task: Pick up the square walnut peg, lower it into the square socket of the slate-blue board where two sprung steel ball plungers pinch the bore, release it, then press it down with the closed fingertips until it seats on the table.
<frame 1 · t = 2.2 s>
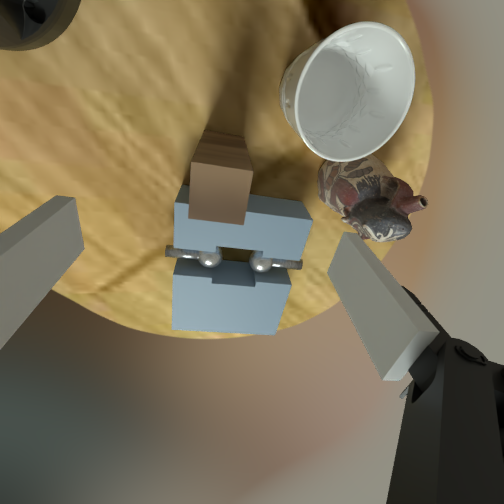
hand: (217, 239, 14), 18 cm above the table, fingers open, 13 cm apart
socket board: (233, 257, 35), on the table
plunger 1: (275, 261, 33), point 3 cm above the table, slide at 0.0 cm
white cup: (312, 92, 26), on the table
peg: (222, 153, 28), on the table
plunger 2: (195, 253, 31), point 3 cm above the table, slide at 0.0 cm
figurine: (345, 179, 31), on the table
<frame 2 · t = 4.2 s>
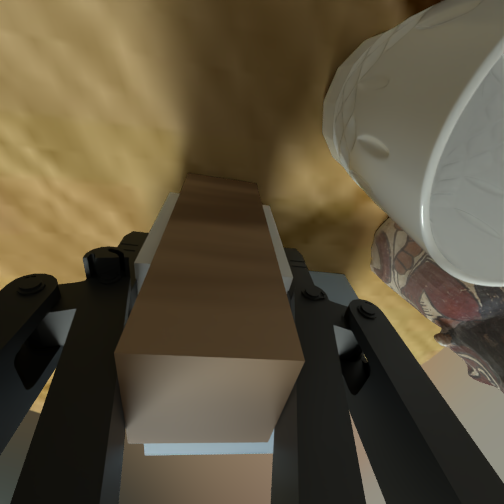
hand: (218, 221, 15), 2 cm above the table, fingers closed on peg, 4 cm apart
socket board: (236, 345, 24), on the table
white cup: (380, 108, 14), on the table
peg: (219, 209, 17), on the table, touching gripper
figurine: (414, 241, 19), on the table
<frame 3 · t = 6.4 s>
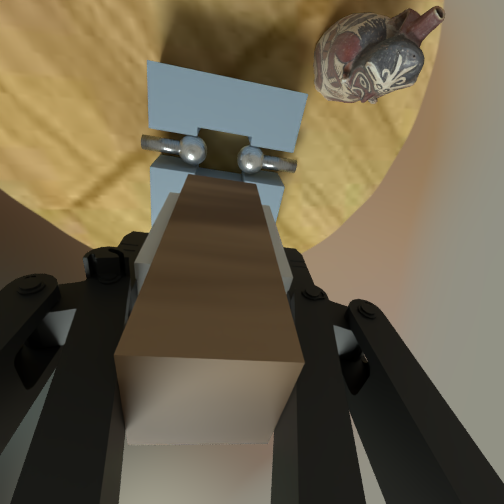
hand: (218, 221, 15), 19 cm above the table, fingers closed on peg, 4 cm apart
socket board: (220, 165, 32), on the table
plunger 1: (266, 162, 29), point 3 cm above the table, slide at 0.0 cm
peg: (219, 210, 17), point 17 cm above the table, touching gripper
plunger 2: (175, 147, 28), point 3 cm above the table, slide at 0.0 cm
figurine: (344, 62, 27), on the table
when the fingers open (6 cm above the table, at t = 8.9 s): peg drops 4 cm, on the table.
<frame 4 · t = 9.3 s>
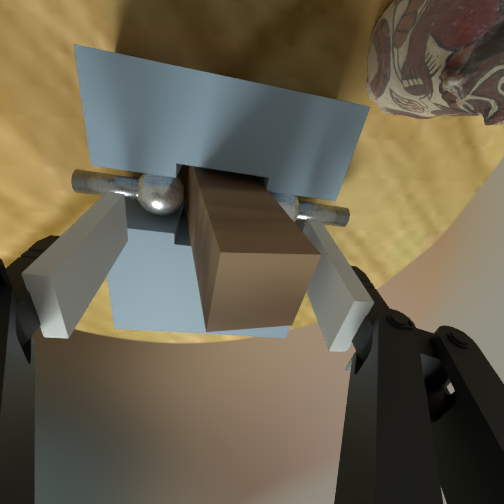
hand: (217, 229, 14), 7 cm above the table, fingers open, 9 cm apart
socket board: (217, 209, 21), on the table
plunger 1: (302, 211, 19), point 3 cm above the table, slide at 1.0 cm
peg: (214, 185, 20), on the table, tilted 12°
plunger 2: (132, 188, 17), point 3 cm above the table, slide at 0.7 cm
figurine: (417, 53, 17), on the table
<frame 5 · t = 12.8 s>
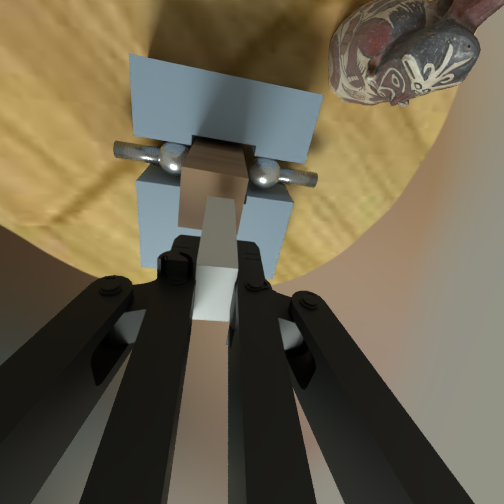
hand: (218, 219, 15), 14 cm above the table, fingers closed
socket board: (219, 176, 28), on the table
plunger 1: (282, 175, 25), point 3 cm above the table, slide at 1.0 cm
peg: (217, 156, 27), on the table
plunger 2: (155, 155, 23), point 3 cm above the table, slide at 1.0 cm
figurine: (364, 58, 23), on the table
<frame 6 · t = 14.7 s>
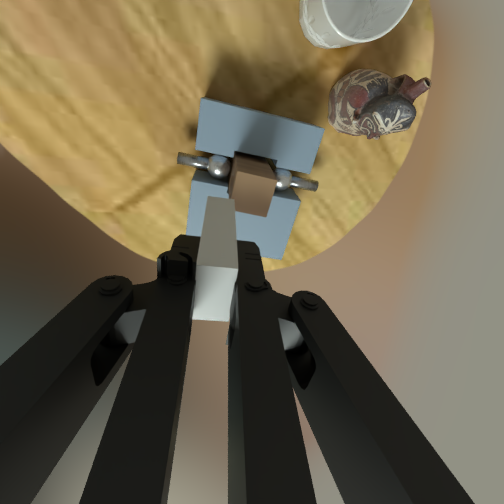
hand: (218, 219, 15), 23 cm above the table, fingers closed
socket board: (245, 181, 38), on the table
plunger 1: (293, 181, 35), point 3 cm above the table, slide at 1.0 cm
white cup: (328, 10, 29), on the table
peg: (245, 165, 37), on the table
plunger 2: (204, 163, 33), point 3 cm above the table, slide at 1.0 cm
figurine: (353, 103, 34), on the table
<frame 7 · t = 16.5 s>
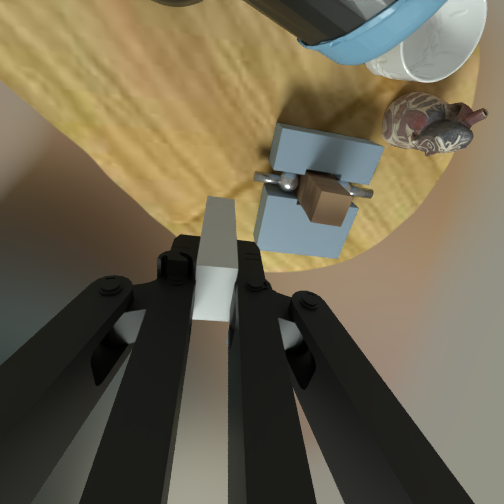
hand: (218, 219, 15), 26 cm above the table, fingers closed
socket board: (305, 191, 43), on the table
plunger 1: (351, 191, 40), point 3 cm above the table, slide at 1.0 cm
white cup: (388, 44, 33), on the table
peg: (306, 178, 42), on the table
plunger 2: (276, 179, 38), point 3 cm above the table, slide at 1.0 cm
figurine: (404, 120, 38), on the table
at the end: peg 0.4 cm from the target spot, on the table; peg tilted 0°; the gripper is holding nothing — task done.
